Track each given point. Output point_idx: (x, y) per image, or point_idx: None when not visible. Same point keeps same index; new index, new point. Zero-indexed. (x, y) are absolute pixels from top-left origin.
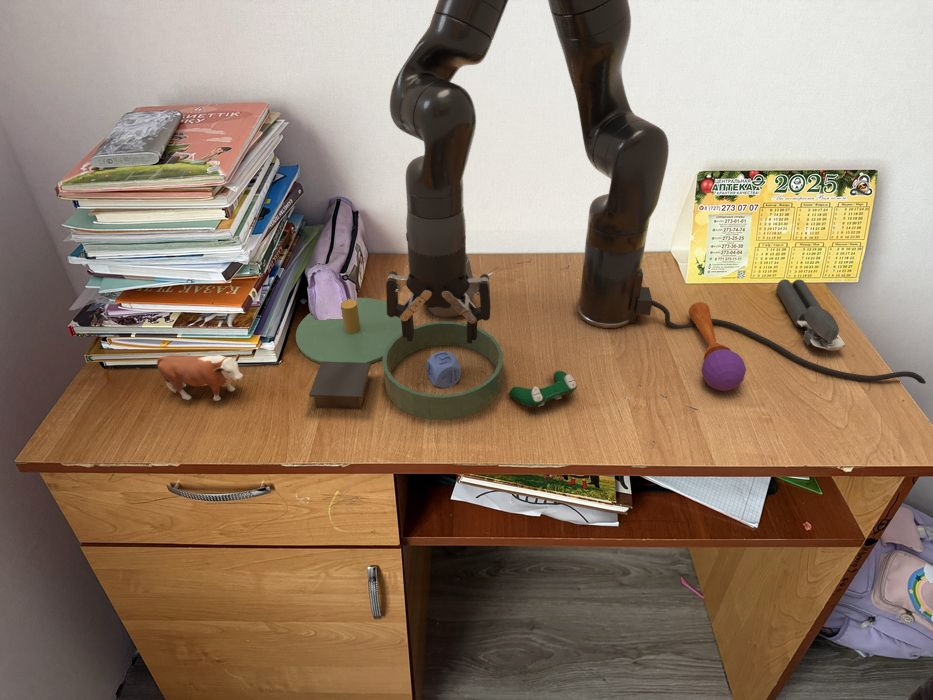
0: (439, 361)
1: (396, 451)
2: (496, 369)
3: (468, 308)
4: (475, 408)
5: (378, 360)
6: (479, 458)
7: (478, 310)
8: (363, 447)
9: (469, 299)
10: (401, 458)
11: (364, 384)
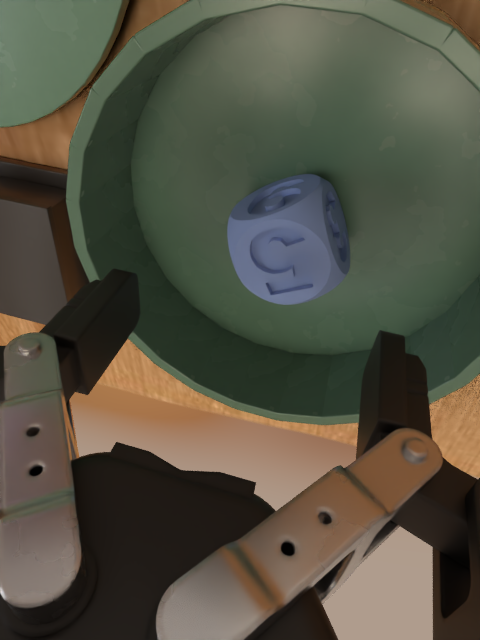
0: (267, 273)
1: (192, 392)
2: (468, 370)
3: (359, 562)
4: None
5: (71, 99)
6: (352, 443)
7: (430, 530)
8: (130, 371)
9: (388, 516)
10: (203, 407)
11: (65, 296)
